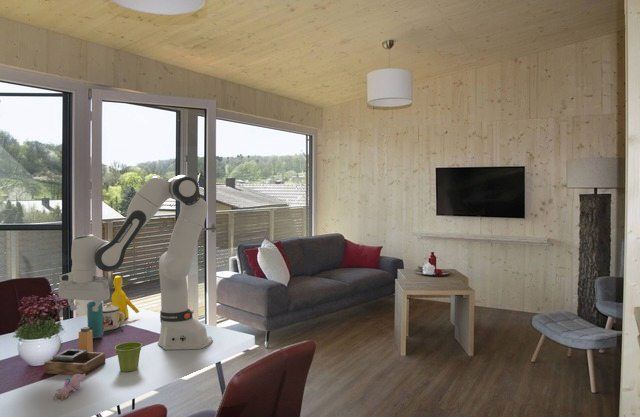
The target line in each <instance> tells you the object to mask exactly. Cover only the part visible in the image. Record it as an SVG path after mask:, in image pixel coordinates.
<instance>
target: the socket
mask: <svg viewBox="0 0 640 417" xmlns="http://www.w3.org/2000/svg"><path fill="white" fill-rule="evenodd" d="M52 358H53V362H68V363H86V362H88V361H87V350H79V348H77V349H76V348H75V349H74V348H67V349H65V350H63V351H61V352H59V353H57V354H55V355H53V356H52Z"/></svg>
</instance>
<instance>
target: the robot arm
mask: <svg viewBox="0 0 640 417" xmlns="http://www.w3.org/2000/svg"><path fill="white" fill-rule="evenodd" d="M198 183H199V182H197V180H196V179H195V178H194V177H192V176H190V175H186V174H185V175H184V174H179V175H177V176H173V177H171V178H169V179H165V178H162V177H160V176H152V177H151V178H149V179H148V180H147V181H146V182H145V183H144V184H143V185H142V186H141V187H140V188H139V189H138V190H137V192H136V193H135V195H133V197H132V199H131V200H130V203H129V204H128V207H127V212H126V217H125V219H124V222H123V224H122V226H121V227H120V228H119V230H118V231H117V232H116V234H115V235H114V236H113V238H112V239H111V240H110V241H107V240H105V239H102V238H99V237H98V236H96V235H94V234H92V233H90V234H82V235H79V236H76V237H75V238H73V240H72V243H71V250H70V251H71V255H70V256H71V257H70V258H71V261H72V265H71V271H69V272H68V273H64V274H61V275H59V276H58V277H59V281H60V282H59V284H58V287H57V288H58V290H57V291H58V292H57V294H58V297H59V298H60V300H61V299H62V300H67V302H68V305H69V307H70V311H76V310H77V309H78V308H77V307H78V306H77V305H76V304H75V302H74V301H75V300H78V301H80V300H81V301H82V300H83V301H95V303H96V305H95V307H92V309H93V310H92V311H93V312H97V311H98V307H99V305H100V303H101V302H105V301H108V300H109V299H110V297H111V293H110V286H109V285H110V284H109V283H110V281H109V279H108V278H106V277H105V276H97V271H98V270H97V268H98V269H99V270H101V271H103V272H108V273H109V272H114V271H116V270H119V268H120V267H121V266H122V265H123V262H124V258H125V254H126V250H127V249H128V247H129V246H130V245H131V244H132V242H133V240H134V239H135V237H136V236H137V234H138V233H139V231H141V230H142V228H143V227H144V226H146V224H147V223H149V221H150V220H152V218H153V217H154V216H155V215H156V214H157V213H158V212H159V210H160V209H161V207H162V206H163V205H164V203H165V202H166V201H168V200H170V199H173V200H175V201H178V202H180V204H181V206H180V207H181V209H180V211H179V214H178V217H177V219H176V223H175V225H174V227H173V230H172V232H171V235H170V240H169V244H168V248H167V251H165V252H163V253H162V254H161V256H160V257H159V260H158V270H159V271H158V272H159V273H158V274H159V285H160V286H159V287H160V303H161V304H160V307H161V308H160V309H161V310H160V314H159V315H160V316H159V320H160V333H159V339H158V341H157V345H158V346H159V347H160V348H161V347H162V349H163V350H166V351H169V350H201V349H203V348H206V347H208V346H209V345H211V343H212V342H213V338H212V336H210V335H208V334H207V328H206V326H205V325H204V324H202V323H201V322H200V321H198V320H197V319H196V318H194V317H193V314H194V313H195V312H194V311H195V310H190V308H189V290H188V282H187V276H188V275H189V273H190V271H191V266H192V263H193V260H194V256H195V252H196V247H197V243H198V240H199V237H200V235H201V233H202V229H203V227H204V224H205V222H206V217H207V214H208V209H209V206H208V203H207V201H206V200H205V199H203V198H202V197H201V193H200V187H199V184H198Z"/></svg>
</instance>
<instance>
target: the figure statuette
mask: <svg viewBox="0 0 640 417" xmlns="http://www.w3.org/2000/svg"><path fill="white" fill-rule="evenodd" d="M123 284H124V283H123V278H122V276H121V275H116V276H114V278H113V280H112V285H113V286H114V291H113V292H112V294H111V295H110V297H111V302H110V303H111V305H114V306H117V307H119V312H122V313H123V314H124V315H125V318H124V320H126V319H128V318H129V316H130V315H129V308H131V310H133V311H134V313H135V314H139V313H140V310H139V309H138V308H137V307H136V306H135V304H133V302H131V300H130V298H129V297H127V294H126V293H125V291H124V290H123V289H122V286H123ZM128 307H129V308H128ZM122 318H123V316H122V315H121V314H119V321H121V320H122Z"/></svg>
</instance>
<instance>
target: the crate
mask: <svg viewBox="0 0 640 417" xmlns="http://www.w3.org/2000/svg"><path fill="white" fill-rule="evenodd" d="M87 361H88V362H86V363H68V362H53V357H52V358H50V359H48V360H46V361H44V362H43V363H44V374H53V375H68V376H73V375H75V374H81V375H82V374H86V375H85V377H86V376H88V375H89V374H91V373H92V372H94V371H95V370H97V369H98V368H100V367H102V366H103V365H105V364H106V352H99V351H98V352H96V351H95V352H94V351H93V352H87ZM81 375H80V376H81Z"/></svg>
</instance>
